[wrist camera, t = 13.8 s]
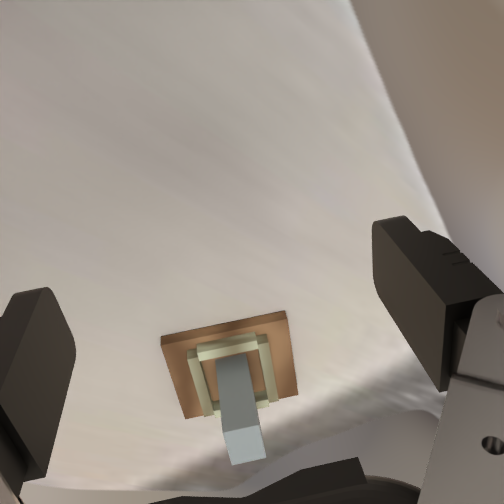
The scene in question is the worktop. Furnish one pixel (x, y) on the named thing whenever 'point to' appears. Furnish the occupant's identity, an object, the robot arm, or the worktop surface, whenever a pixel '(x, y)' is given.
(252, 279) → the worktop surface
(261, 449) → the pale grey rectangular prism
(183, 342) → the brown framed socket base
